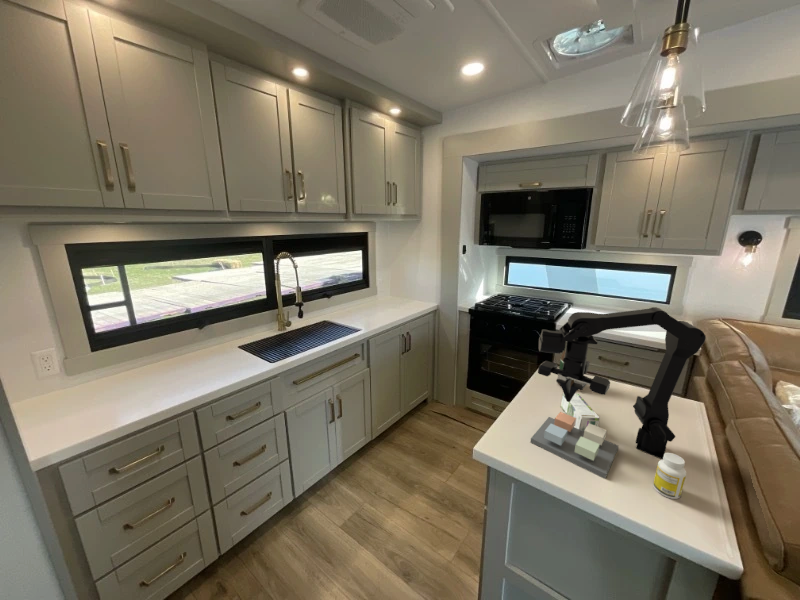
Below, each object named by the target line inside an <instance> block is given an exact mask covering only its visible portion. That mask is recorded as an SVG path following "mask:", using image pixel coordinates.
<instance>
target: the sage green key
mask: <svg viewBox="0 0 800 600" xmlns="http://www.w3.org/2000/svg"><path fill="white" fill-rule="evenodd" d="M599 445H600V444H598V443H596V442H593V441H591V440H589V439H586V438H584V437H582V436H581V437H580V438H579V440H578V442H577V443H576V446H575V451H574V452H576V453H578V454H580V455H582V456H584V457H586V458H589V459H591V460H593V461H594V459H595V457H596V455H597V453H598V450H599Z"/></svg>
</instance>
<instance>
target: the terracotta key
mask: <svg viewBox="0 0 800 600" xmlns="http://www.w3.org/2000/svg"><path fill="white" fill-rule="evenodd" d="M554 419H555V422H554V425H556V426H558V427H560V428H563V429H565V430H567V431H569V432H571V430H572V429H573V427H575V423H576V418H575V417H572V416H570V415H567V414H566V413H565V412H562V411H560V412H559V413H558V414H557V415H556V417H555V418H554Z"/></svg>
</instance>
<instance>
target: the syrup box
mask: <svg viewBox="0 0 800 600" xmlns="http://www.w3.org/2000/svg"><path fill="white" fill-rule="evenodd" d="M561 395H562V396H561V399H560V408H561V409H562V411H563V413H565V414H567V415H570V416H572V417H575V418H576V423H575V426H574V427H575V428H577V429H580V430H582V431H584V430H585V429H586V427H587V426H588V424H589V423H590V424H592V425H595V426H597V427H599V422H600V416H599V415H598V414H597V413H596V412H595V410H593V408H592V407H591V406H590V405H589V404H588V403H587V402H586V400H584V398H583V397H582V396H581V395H580V393H575V394H574V396H573V398H572V399H571V401H570V402H567V401H566V398H565V395H564V392H563V393H562V394H561Z"/></svg>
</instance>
